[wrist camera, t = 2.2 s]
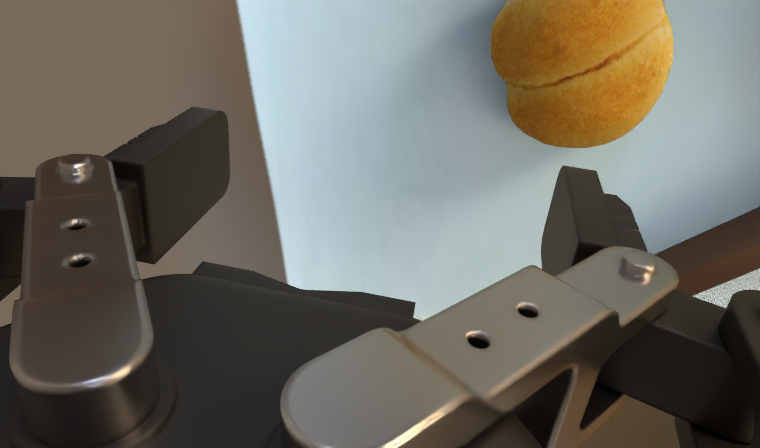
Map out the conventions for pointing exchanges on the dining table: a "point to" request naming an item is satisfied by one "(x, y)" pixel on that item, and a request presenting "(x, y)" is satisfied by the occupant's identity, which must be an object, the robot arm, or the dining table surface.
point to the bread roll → (581, 66)
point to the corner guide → (717, 254)
